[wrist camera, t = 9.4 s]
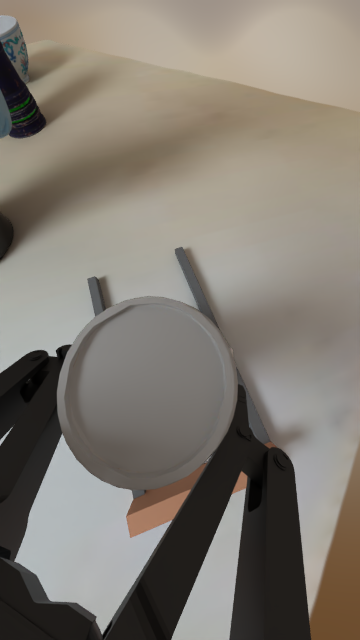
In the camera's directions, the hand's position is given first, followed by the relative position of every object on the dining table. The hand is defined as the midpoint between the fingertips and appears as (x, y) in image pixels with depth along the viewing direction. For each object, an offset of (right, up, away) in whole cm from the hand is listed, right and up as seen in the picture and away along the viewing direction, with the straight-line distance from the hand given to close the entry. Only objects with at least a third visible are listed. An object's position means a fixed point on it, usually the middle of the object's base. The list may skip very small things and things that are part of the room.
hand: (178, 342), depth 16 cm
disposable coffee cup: (-1, -4, +3) cm, 5 cm away
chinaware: (-47, +72, +31) cm, 92 cm away
